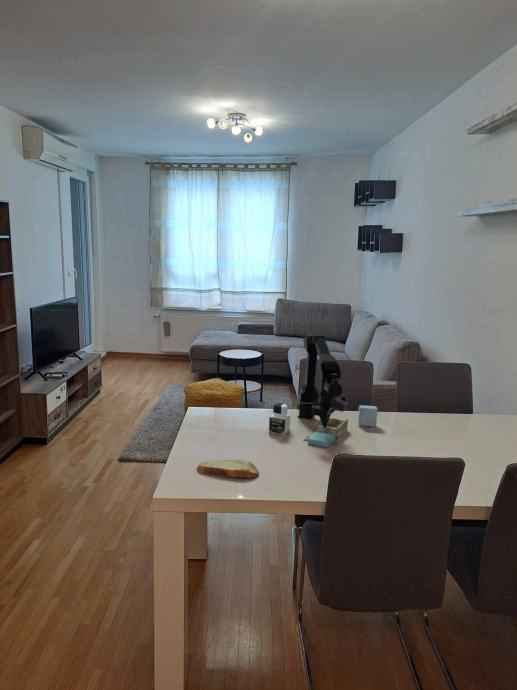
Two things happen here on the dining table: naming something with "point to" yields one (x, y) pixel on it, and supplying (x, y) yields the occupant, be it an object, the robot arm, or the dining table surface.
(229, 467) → the slice of bread
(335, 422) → the wooden box
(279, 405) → the medicine bottle
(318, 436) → the cover plate
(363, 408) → the medicine box
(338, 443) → the grey mat
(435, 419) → the dining table surface
